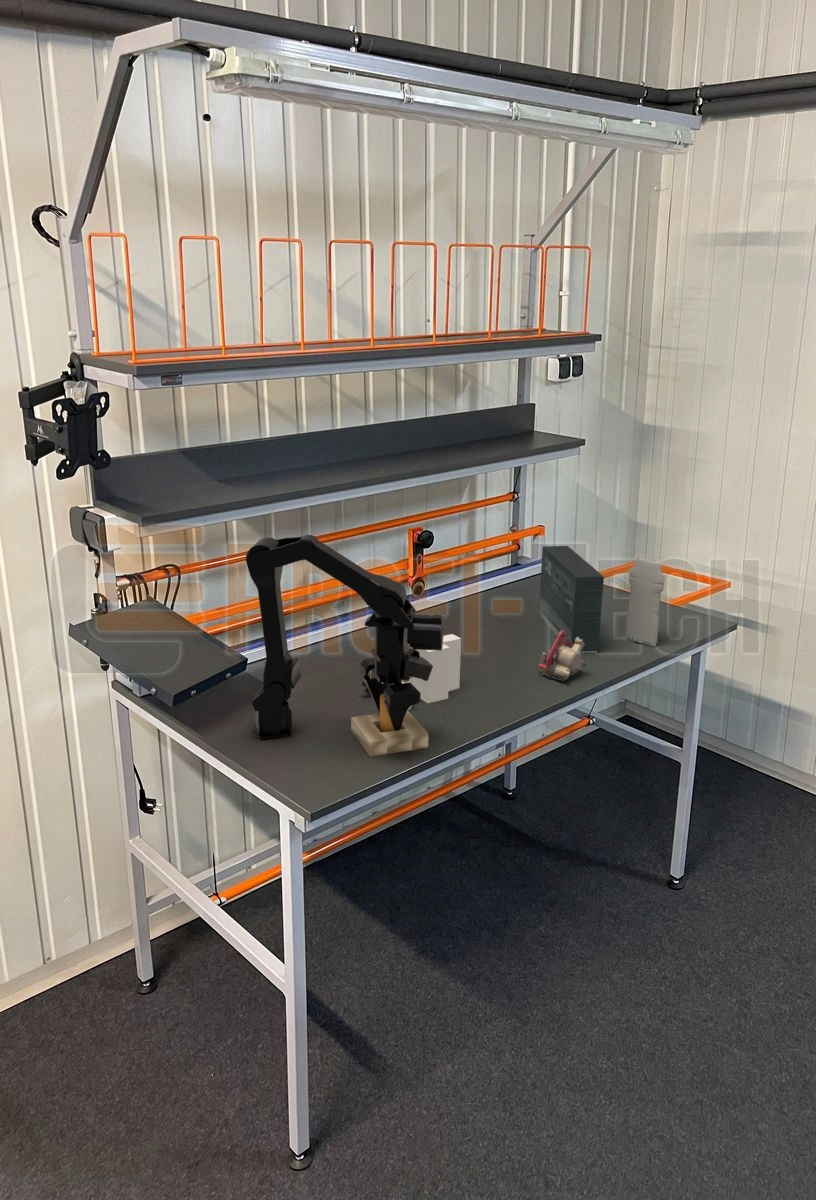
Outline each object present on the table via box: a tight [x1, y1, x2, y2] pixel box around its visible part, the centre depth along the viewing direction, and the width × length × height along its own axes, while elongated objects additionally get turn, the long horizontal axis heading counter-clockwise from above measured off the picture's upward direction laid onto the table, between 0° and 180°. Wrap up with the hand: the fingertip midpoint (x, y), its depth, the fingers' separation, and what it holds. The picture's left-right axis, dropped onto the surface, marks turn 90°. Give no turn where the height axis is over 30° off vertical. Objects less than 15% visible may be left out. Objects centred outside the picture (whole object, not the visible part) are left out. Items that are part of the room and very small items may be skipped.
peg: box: [379, 694, 395, 733], centre depth 190 cm, size 4×4×9 cm
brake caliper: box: [537, 630, 589, 681], centre depth 223 cm, size 11×11×12 cm
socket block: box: [350, 710, 429, 758], centre depth 191 cm, size 12×12×3 cm
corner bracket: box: [411, 633, 462, 704], centre depth 214 cm, size 11×11×12 cm
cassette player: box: [538, 545, 605, 651], centre depth 248 cm, size 29×7×20 cm, turn 8°
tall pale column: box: [624, 557, 665, 644], centre depth 243 cm, size 11×4×22 cm, turn 39°
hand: (388, 720), depth 190 cm, fingers open, 9 cm apart
